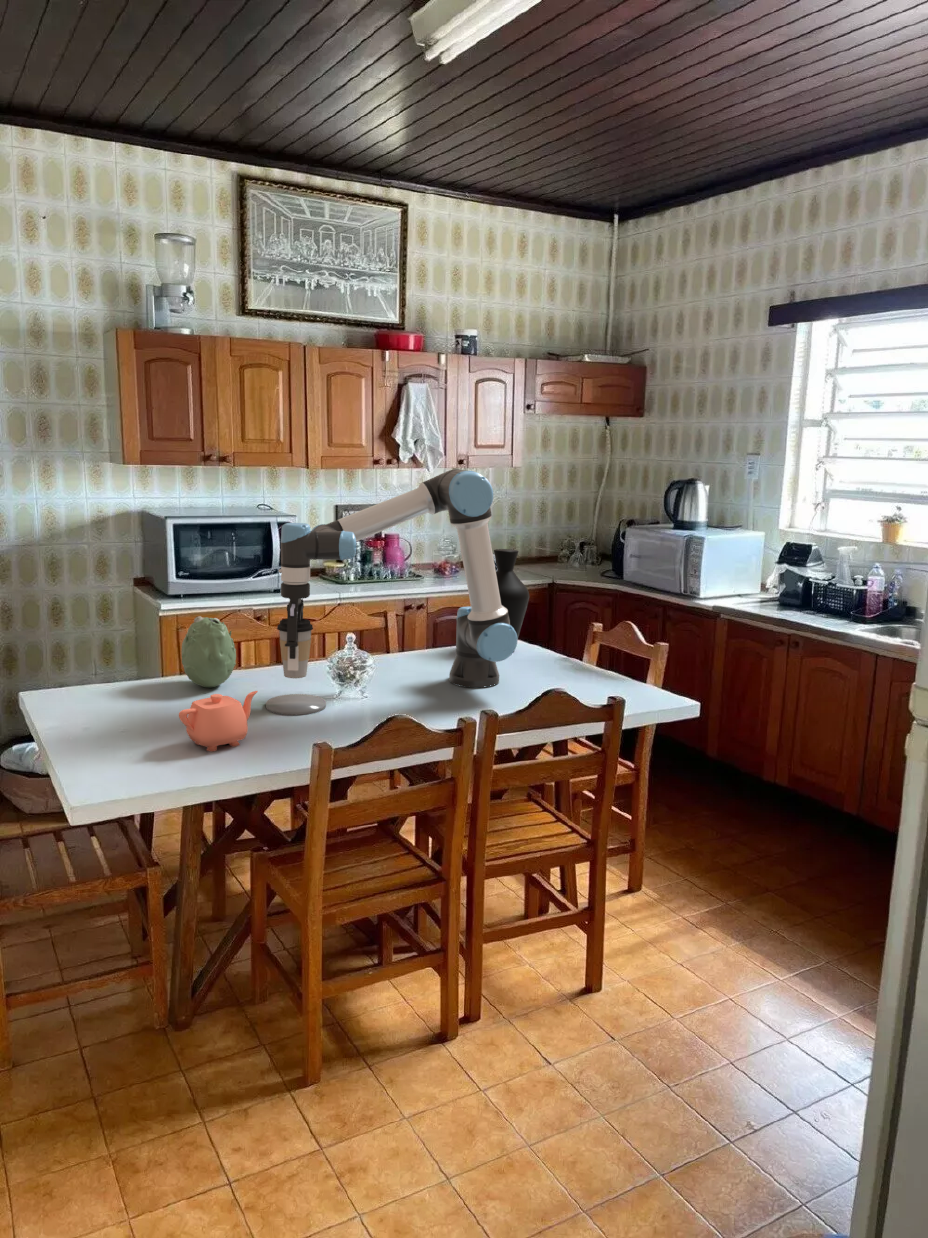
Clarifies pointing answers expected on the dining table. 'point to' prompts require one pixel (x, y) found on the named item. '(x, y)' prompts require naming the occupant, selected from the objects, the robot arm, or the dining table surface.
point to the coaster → (295, 704)
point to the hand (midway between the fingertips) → (295, 665)
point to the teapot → (217, 720)
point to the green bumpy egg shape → (208, 652)
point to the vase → (511, 587)
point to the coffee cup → (303, 647)
